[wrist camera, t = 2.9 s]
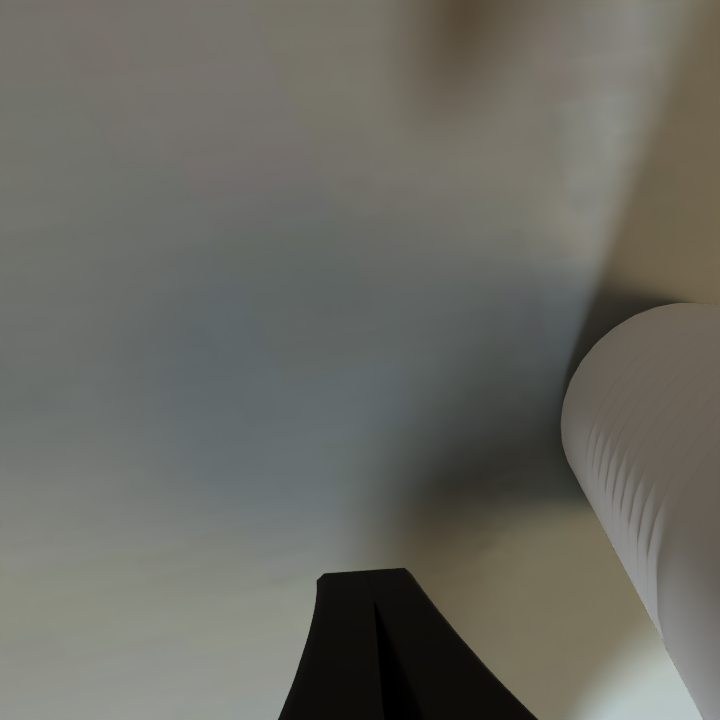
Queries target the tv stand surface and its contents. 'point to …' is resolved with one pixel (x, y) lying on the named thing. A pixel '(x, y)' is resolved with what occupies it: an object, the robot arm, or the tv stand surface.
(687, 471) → the cup
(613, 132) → the tv stand surface
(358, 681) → the robot arm
